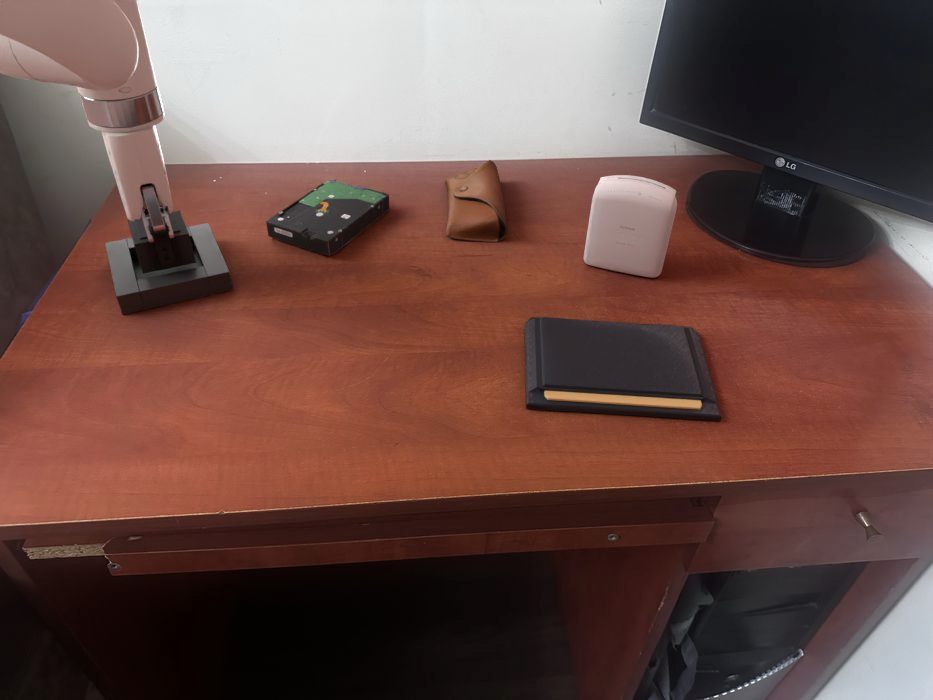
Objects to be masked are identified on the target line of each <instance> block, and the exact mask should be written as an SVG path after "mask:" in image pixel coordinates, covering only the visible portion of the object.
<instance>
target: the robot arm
mask: <svg viewBox="0 0 933 700" xmlns="http://www.w3.org/2000/svg"><path fill="white" fill-rule="evenodd" d="M138 3H139V2H138V0H0V74H2V75H4V76H8V77H12V78H16V79H21V80H22V79H23V80H27V81H33V82H39V83H40V82H41V83H47V84H49V83H50V84H54V85H55V84H56V85H62V86H63V85H64V86H68V87H74V88H77V91H78V95H79V98H80V102H81V104H82V108H83V110H84V113H85V117H86V120H87V123H88V124H87V125H88V126H89V127H90V128H91V129H94V131H98V132H101V135H102V138H103V142H104V146H105V149H106V153H107V157H108V161H109V164H110V167H111V170H112V173H113V176H114V180H115V183H116V186H117V189H118V193H119V195H120V199H121V202H122V206H123V208H124V211H125V215H126V218H127V220H131V221H135V220H137V219H140V218H142V220H143V223H144V226H145V230H146V233H147V237H148V239H146V242H147V245H148V248H149V252H150V255H151V259H152V262H153V265H154V269H155V270H157V271H159V270H164V269H169V268H174V267H178V266H182V265H183V260H182V256H181V252H180V249H179V245H178V241H177V237H176V234H173V230H172V226H171V223H170V219H169V216H168V213H169V215H170V214H171V213H172V212H174V205H173V200H172V199H173V198H172V192H171V188H170V183H169V178H168V173H167V168H166V163H165V159H164V155H163V151H162V146H161V143H160V137H159V135H158V129H157V127H156V126H157V125H158V124H160V123H161V122H162V121H164V119H165V116H166V115H165V114H166V113H165V109H164V105H163V102H162V98H161V93H160V90H159V86H158V82H157V78H156V74H155V69H154V65H153V61H152V56H151V53H150V48H149V44H148V40H147V35H146V32H145V27H144V23H143V19H142V14H141V12H140V7H139V4H138ZM163 217H164V220H165V224H164V221H163ZM148 220H151V223H152V226H149V223H148ZM150 227H151V228H150Z"/></svg>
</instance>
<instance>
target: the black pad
mask: <svg viewBox="0 0 933 700" xmlns="http://www.w3.org/2000/svg"><path fill="white" fill-rule="evenodd" d="M168 216H169V219H170V223H171V226H172V230H173V234H176V237H177V241H178V245H179V249H180V252H181V256H182V260H183V265H187V264H192V263H196V260H195V256H194V252H193V248H192V244H191V240H190V236H189V232H188V230H187V227H188V226H187V225H186V221H185V220H184V217H183V215H182V212H181V210H173V212H172V213H171V214H170V215H169V213H168ZM163 221H164V224H165V220H164V217H163ZM148 223H149V226H152V223H151V220H148ZM127 224H128V227H129V232H130V235H131V238H132V239H133V243H134V246H135V249H136V253H137V256H138V259H139V262H140V266H141V269H142V272H143V274H144V273H149V272H154V271H157V270H155V269H154V265H153V262H152V259H151V255H150V252H149V248H148V245H147V242H146V239H148V237H147V233H146V230H145V226H144V223H143V220H142V218H140V219H137V220H135V221H131V220H129V219H127ZM150 228H151V227H150Z"/></svg>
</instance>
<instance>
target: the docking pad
mask: <svg viewBox="0 0 933 700" xmlns="http://www.w3.org/2000/svg"><path fill="white" fill-rule="evenodd" d="M186 227H187V230H188V232H189V236H190V240H191V244H192V248H193V252H194V256H195V260H196V263H192V264H187V265H182V266H178V267H174V268H169V269H164V270H159V271H154V272H149V273H144V274H143V272H142V269H141V266H140V262H139V259H138V256H137V253H136V249H135V246H134V243H133V239H132V237H129V238H122V239H119V240H113V241H107V242H104V246H105V251H106V257H107V261H108V265H109V270H110V274H111V275H110V276H111V278H112V283H113V288H114V293H115V297H116V300H117V303H118V307H119V309H120V312H121V315H122V316H125V315H128V314H133V313H137V312H138V313H139V312H142V311H146V310H150V309H154V308H159V307H163V306H167V305H173V304H177V303H181V302H185V301H190V300H195V299H198V298H203V297H207V296H212V295H215V294H219V293H224V292H229V291H233V290H234V286H233V281H232V276H231V272H230V269H229V267H228V265H227V263H226V261H225V257H224V256H223V253H222V251H221V249H220V247H219V244H218V243H217V240H216V237H215V235H214V233H213V231H212V228H211V226H210V224H209V222H205V223H200V224H195V225H190V226H186Z"/></svg>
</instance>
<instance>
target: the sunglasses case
mask: <svg viewBox="0 0 933 700" xmlns="http://www.w3.org/2000/svg"><path fill="white" fill-rule="evenodd" d="M498 170H499V169H498V167H497V165H496V162H494V161H493V160H491V159H488V160H487V161H486V162H485V163H483V164H482V165H480V166H477V167H475V168H473V169H470V170H468V171H464V172H462V173H459V174H457V175H455V176H452V177H450V178H446V179H445V180H444V182H445V187H446V189H447V220H446V221H447V222H446V230H445V236H446V237H448V238H450V239H454V240H458V241H459V240H460V241H465V242H478V243H479V242H480V243H483V242H484V243H498V242H500V241H503V239H504V238H505V237H506V236H507V234H508V226H507V217H506V210H505V209H506V208H505V203H504V196H503V190H502V184H501V183H502V182H501V179H500V174H499V171H498Z"/></svg>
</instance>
